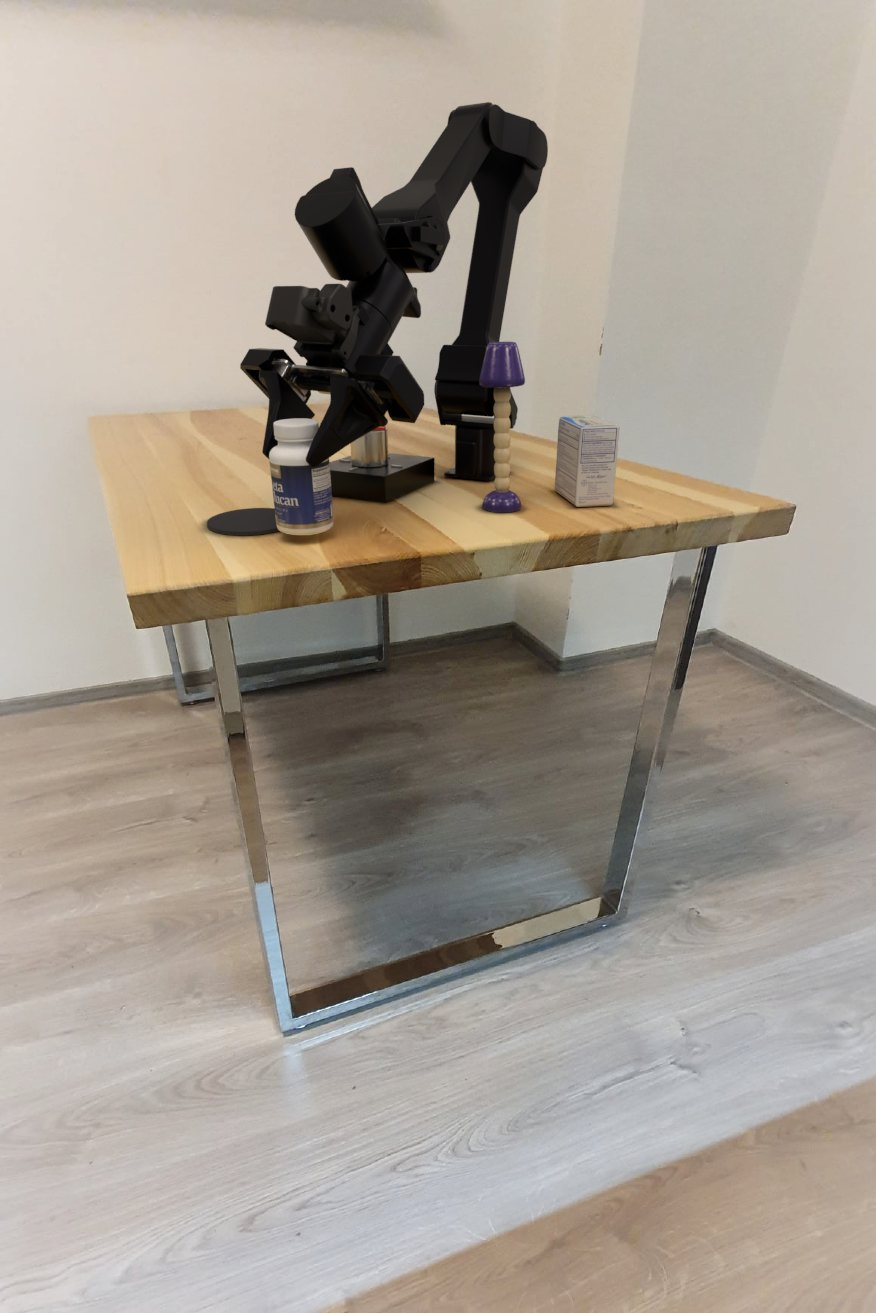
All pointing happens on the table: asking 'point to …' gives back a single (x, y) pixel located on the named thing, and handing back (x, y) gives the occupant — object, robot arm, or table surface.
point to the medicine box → (586, 460)
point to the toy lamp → (502, 418)
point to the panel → (381, 478)
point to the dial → (371, 449)
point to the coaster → (244, 522)
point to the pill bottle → (299, 480)
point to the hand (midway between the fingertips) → (287, 460)
